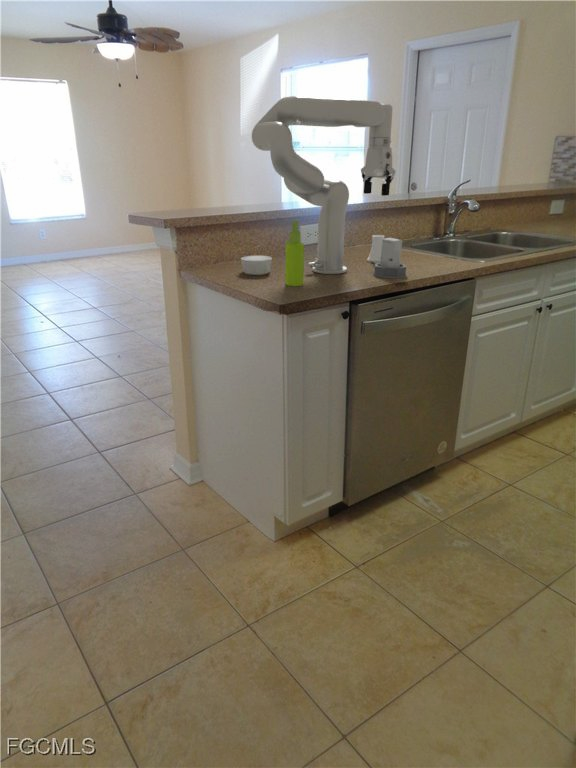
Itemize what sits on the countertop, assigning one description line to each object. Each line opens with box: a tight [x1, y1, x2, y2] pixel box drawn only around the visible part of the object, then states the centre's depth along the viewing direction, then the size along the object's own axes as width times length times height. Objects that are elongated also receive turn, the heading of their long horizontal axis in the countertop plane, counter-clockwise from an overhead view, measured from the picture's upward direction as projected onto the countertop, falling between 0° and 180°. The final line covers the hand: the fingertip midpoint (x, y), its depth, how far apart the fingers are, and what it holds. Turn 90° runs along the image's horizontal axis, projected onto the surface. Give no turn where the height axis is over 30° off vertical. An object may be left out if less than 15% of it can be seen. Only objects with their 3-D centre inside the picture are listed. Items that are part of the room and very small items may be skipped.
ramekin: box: [240, 255, 273, 276], centre depth 198 cm, size 11×11×5 cm
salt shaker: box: [366, 234, 385, 264], centre depth 217 cm, size 8×8×10 cm
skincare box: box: [380, 237, 403, 268], centre depth 194 cm, size 6×4×12 cm
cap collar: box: [372, 263, 407, 279], centre depth 196 cm, size 12×12×3 cm
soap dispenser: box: [285, 220, 305, 287], centre depth 179 cm, size 6×7×20 cm
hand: (376, 194), depth 200 cm, fingers open, 9 cm apart
